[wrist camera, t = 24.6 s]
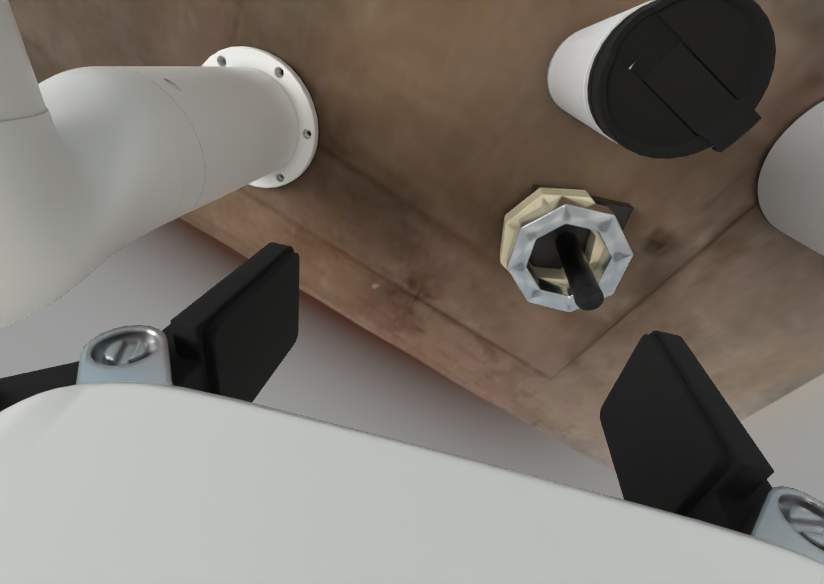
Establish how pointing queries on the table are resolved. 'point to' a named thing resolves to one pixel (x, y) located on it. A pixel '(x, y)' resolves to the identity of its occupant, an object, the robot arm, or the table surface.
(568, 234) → the stand
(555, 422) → the table surface
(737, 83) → the travel mug
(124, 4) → the table surface
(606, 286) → the steel ring
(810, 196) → the cylinder vase
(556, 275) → the ivory ring
